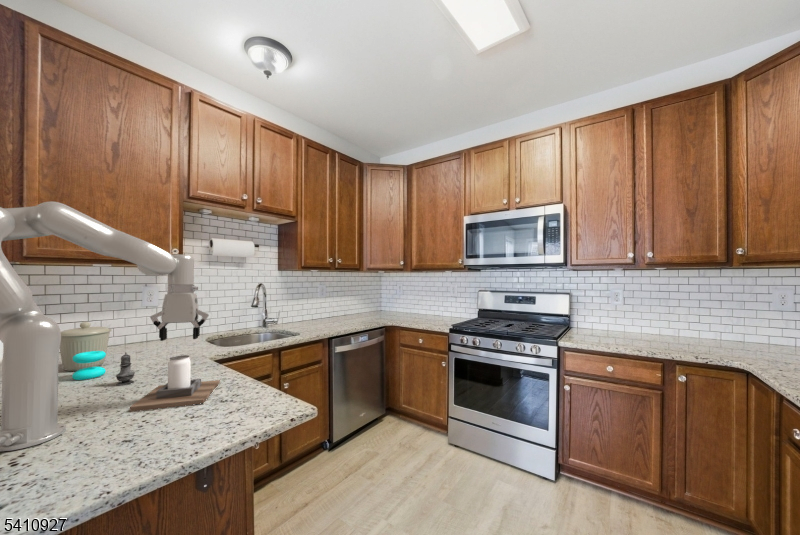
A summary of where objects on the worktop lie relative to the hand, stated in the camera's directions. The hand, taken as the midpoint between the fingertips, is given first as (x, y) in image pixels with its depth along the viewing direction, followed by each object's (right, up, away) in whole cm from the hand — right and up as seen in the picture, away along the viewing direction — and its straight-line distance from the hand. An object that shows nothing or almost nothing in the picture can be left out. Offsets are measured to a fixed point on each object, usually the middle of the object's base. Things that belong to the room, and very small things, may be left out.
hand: (179, 339), depth 110 cm
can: (0, -18, 0) cm, 18 cm away
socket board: (0, -20, 0) cm, 20 cm away
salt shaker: (-31, -21, +14) cm, 39 cm away
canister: (-68, -21, +35) cm, 80 cm away
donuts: (-53, -21, +22) cm, 61 cm away
